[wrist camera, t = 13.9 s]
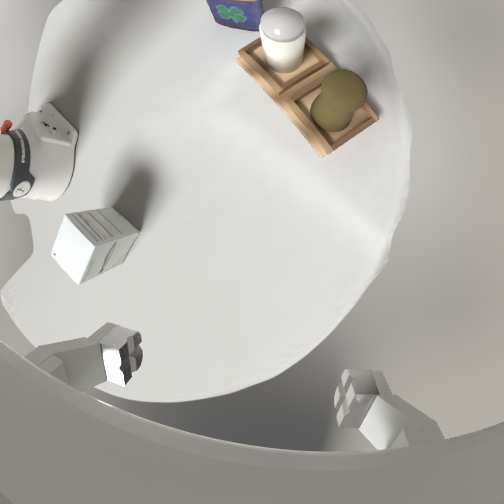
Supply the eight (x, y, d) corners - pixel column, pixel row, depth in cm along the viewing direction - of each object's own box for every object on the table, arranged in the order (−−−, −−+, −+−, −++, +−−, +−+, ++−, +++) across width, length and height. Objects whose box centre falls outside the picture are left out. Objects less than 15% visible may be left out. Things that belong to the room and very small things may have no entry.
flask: (268, 23, 32) (262, -15, 22) (261, 35, 33) (253, -3, 22) (219, 12, 32) (202, -23, 22) (211, 24, 33) (192, -11, 23)
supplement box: (123, 264, 44) (77, 287, 32) (96, 238, 44) (48, 253, 31) (142, 231, 42) (95, 247, 30) (113, 205, 42) (63, 212, 30)
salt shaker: (257, 56, 33) (248, 19, 22) (286, 38, 31) (285, -1, 21) (281, 79, 33) (279, 45, 23) (310, 61, 32) (317, 25, 22)
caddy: (237, 62, 34) (233, 53, 31) (291, 29, 32) (291, 20, 29) (322, 159, 37) (325, 156, 34) (376, 121, 34) (383, 116, 31)
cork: (317, 88, 33) (328, 53, 22) (356, 103, 33) (380, 76, 22) (304, 122, 34) (311, 97, 24) (344, 139, 34) (366, 120, 23)
